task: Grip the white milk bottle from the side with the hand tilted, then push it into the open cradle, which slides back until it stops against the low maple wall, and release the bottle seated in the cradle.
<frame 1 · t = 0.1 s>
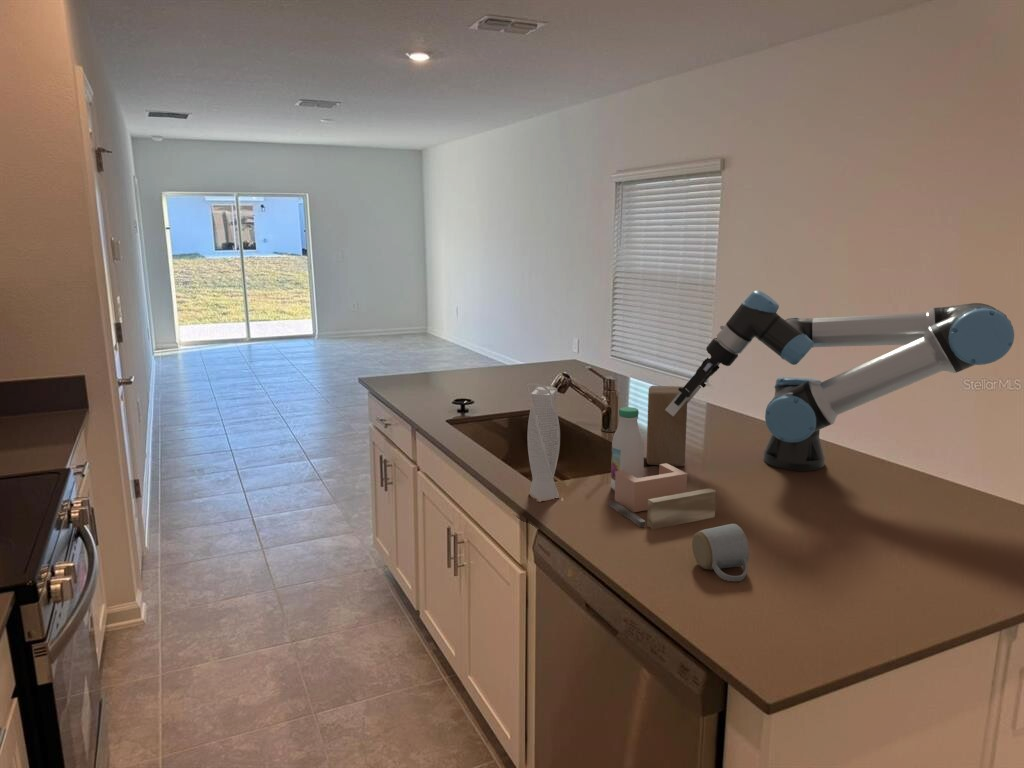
hand: (675, 407, 184), 15 cm above the countertop, tool tilted 35°, fingers open, 13 cm apart
cradle: (650, 486, 159), point 4 cm above the countertop, slide at 0.0 cm
ceramic mug: (723, 570, 128), on the countertop
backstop: (681, 521, 149), on the countertop
block: (665, 461, 189), on the countertop
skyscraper: (543, 497, 164), on the countertop
milk bottle: (626, 489, 169), on the countertop
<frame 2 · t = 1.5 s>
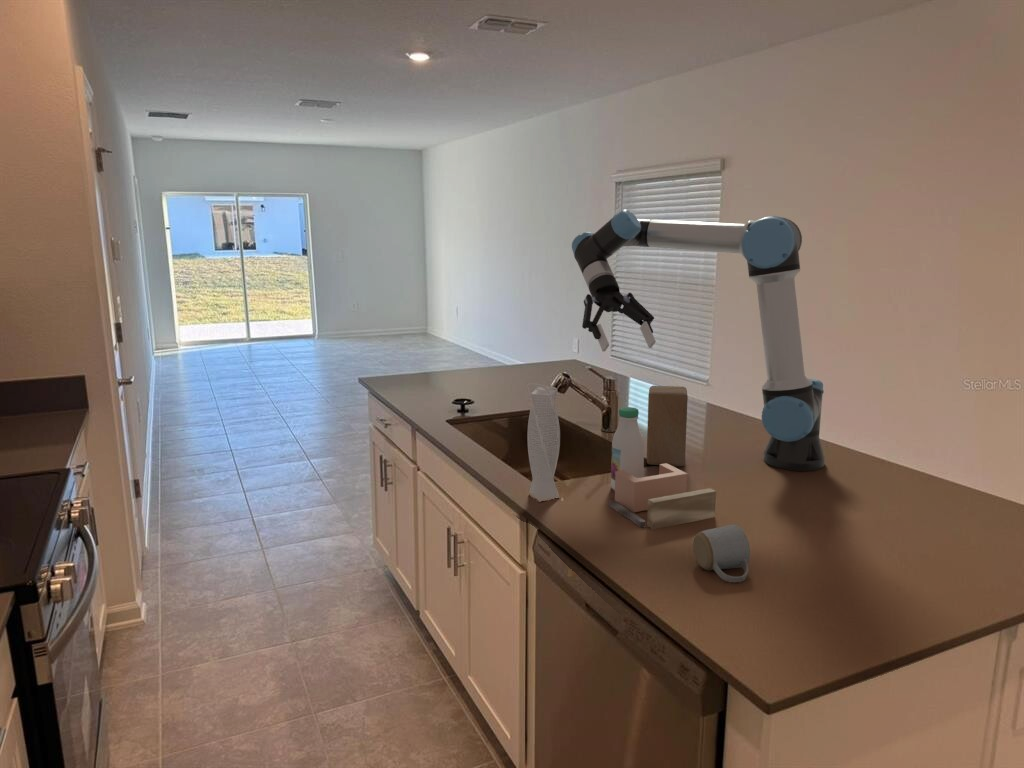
hand: (629, 346, 174), 33 cm above the countertop, tool tilted 45°, fingers open, 13 cm apart
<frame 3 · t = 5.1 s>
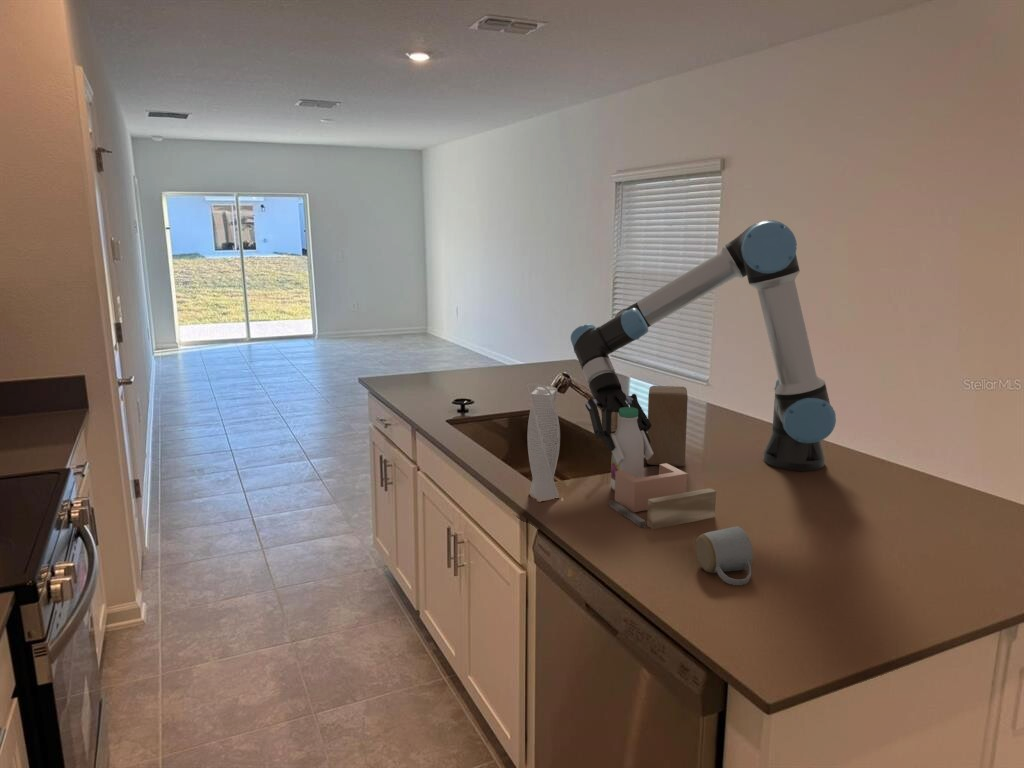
hand: (635, 458, 164), 9 cm above the countertop, tool tilted 45°, fingers closed on milk bottle, 7 cm apart
milk bottle: (626, 489, 169), on the countertop, touching gripper
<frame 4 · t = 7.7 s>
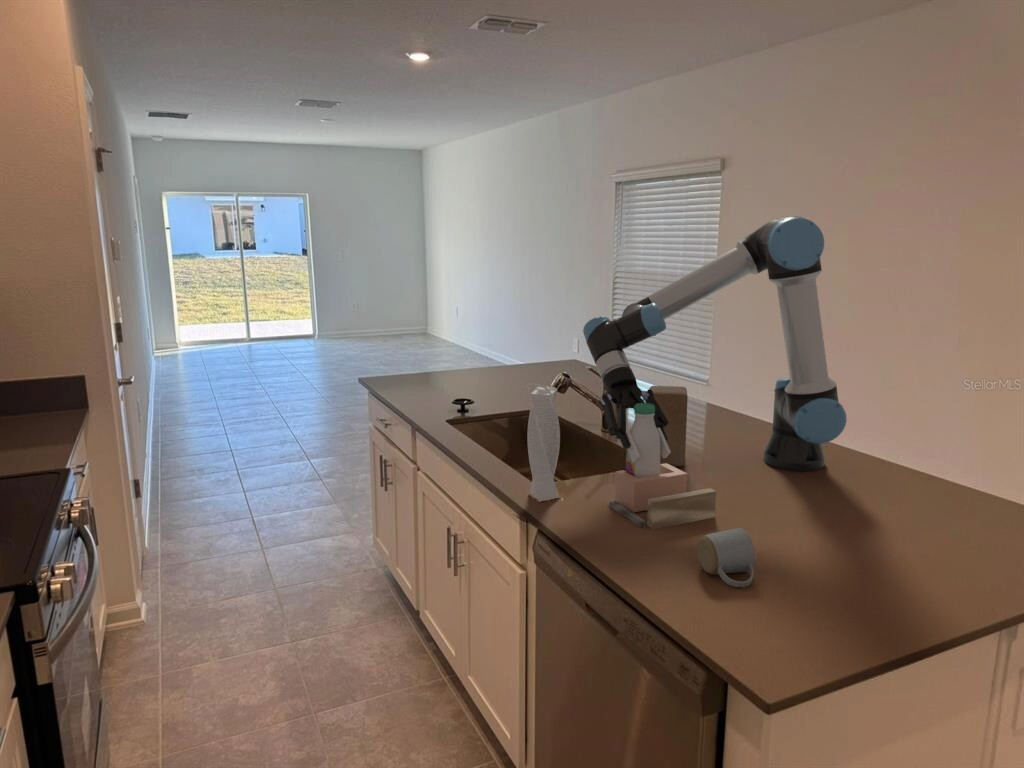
hand: (651, 457, 156), 11 cm above the countertop, tool tilted 45°, fingers closed on milk bottle, 7 cm apart
milk bottle: (642, 489, 161), point 3 cm above the countertop, touching gripper
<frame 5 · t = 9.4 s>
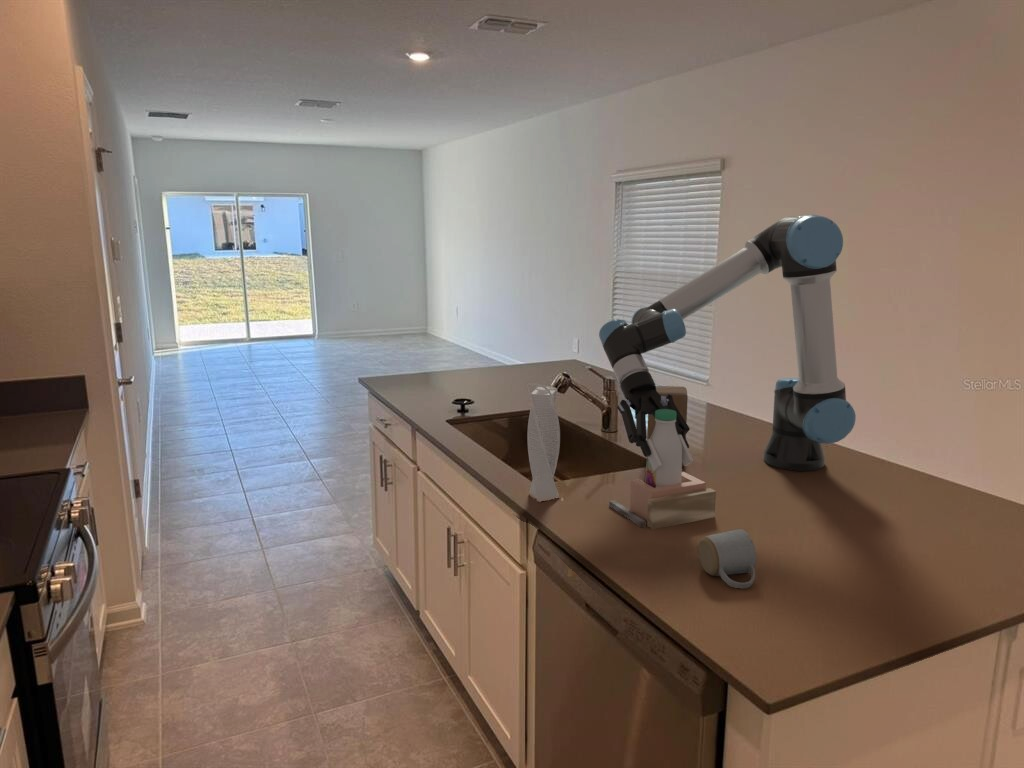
hand: (673, 465, 150), 11 cm above the countertop, tool tilted 45°, fingers closed on milk bottle, 7 cm apart
cradle: (667, 496, 153), point 4 cm above the countertop, slide at 6.6 cm
milk bottle: (662, 498, 155), point 3 cm above the countertop, touching gripper
when the fingers open (10 cm above the countertop, at t = 10.6 s): milk bottle drops 1 cm, on the countertop.
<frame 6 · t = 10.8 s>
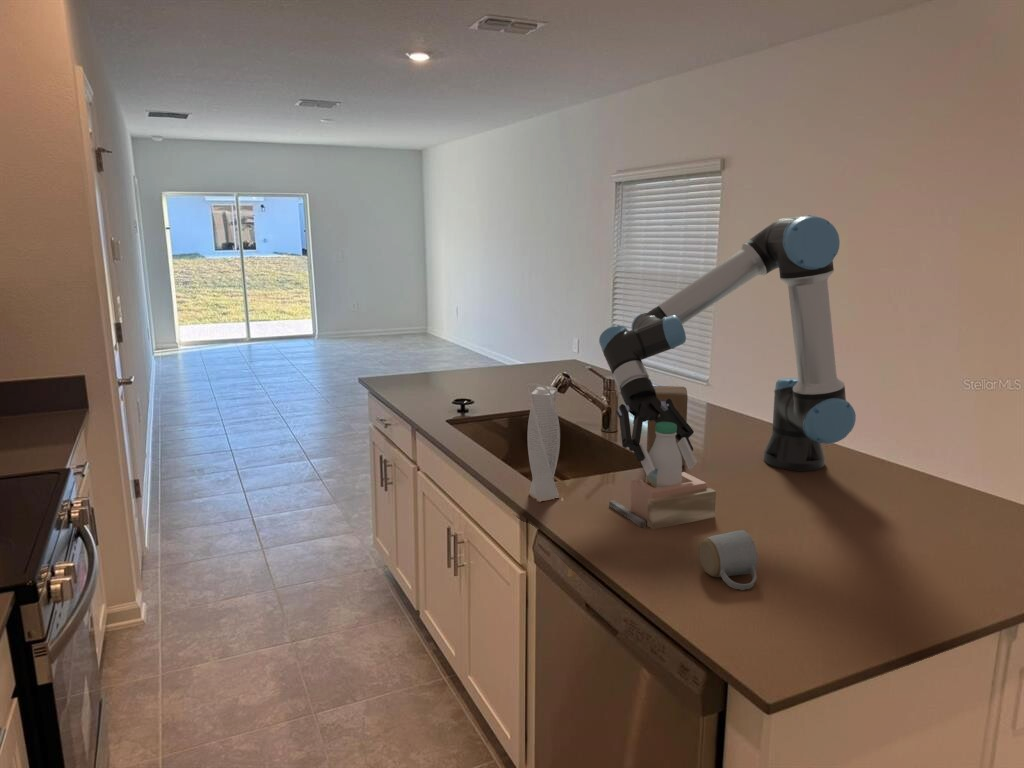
hand: (672, 469, 150), 11 cm above the countertop, tool tilted 45°, fingers open, 10 cm apart
milk bottle: (662, 510, 155), on the countertop
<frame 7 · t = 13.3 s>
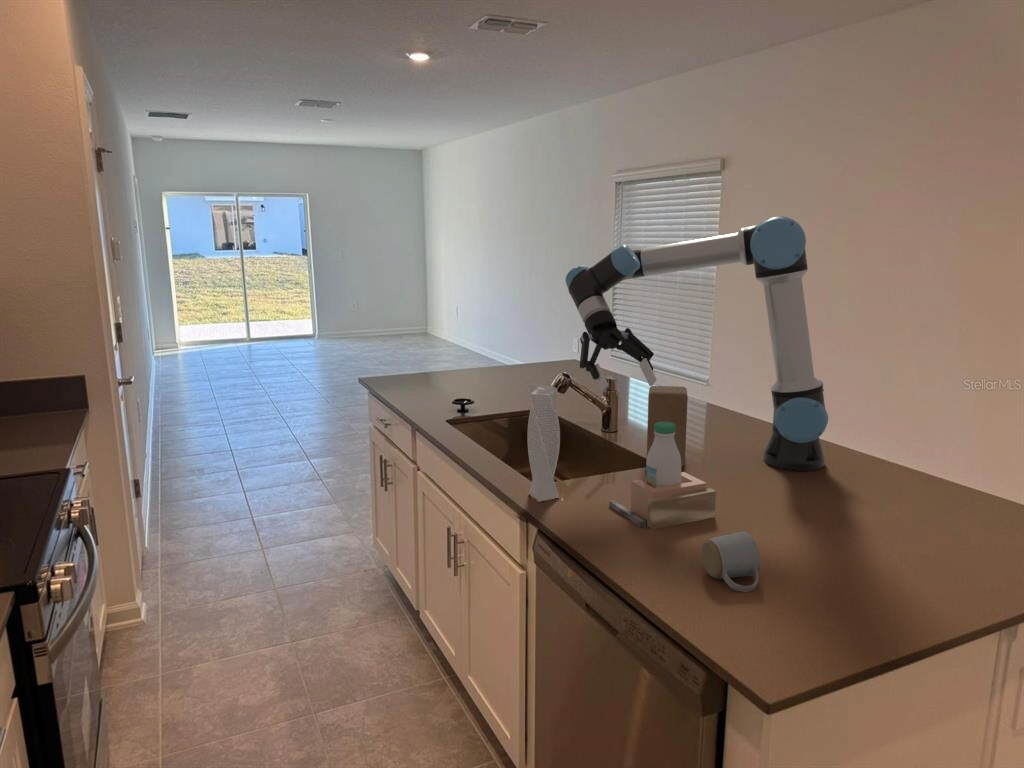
hand: (629, 385, 167), 25 cm above the countertop, tool tilted 45°, fingers open, 13 cm apart
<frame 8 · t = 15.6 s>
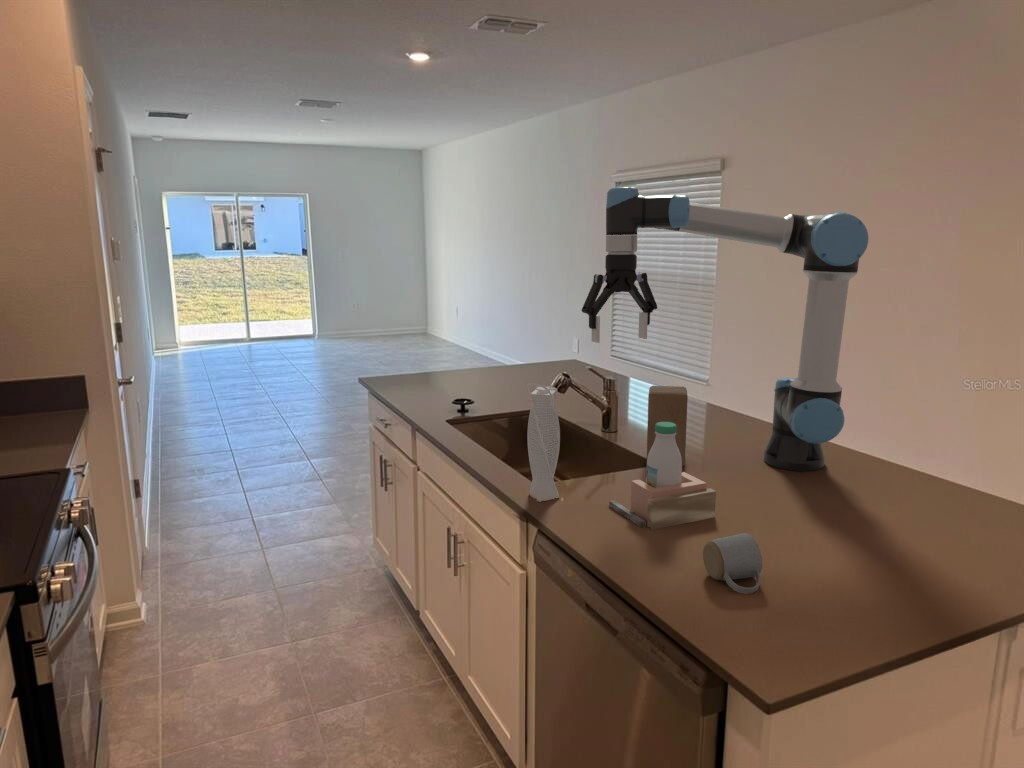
hand: (619, 340, 173), 35 cm above the countertop, tool pointing down, fingers open, 13 cm apart
at the end: cradle slide at 6.8 cm; milk bottle 4.9 cm from the cradle (horizontally); milk bottle tilted 0° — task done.
